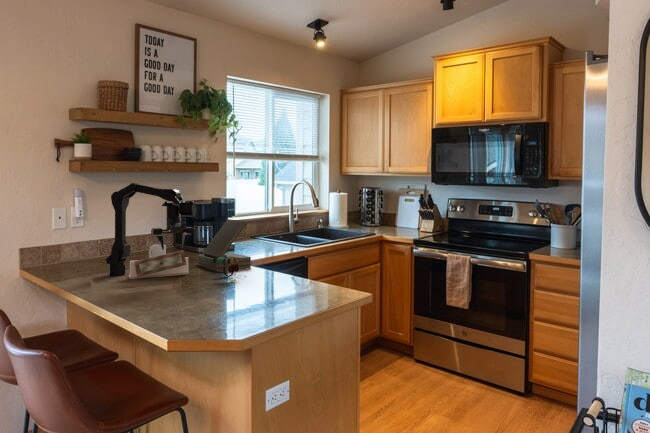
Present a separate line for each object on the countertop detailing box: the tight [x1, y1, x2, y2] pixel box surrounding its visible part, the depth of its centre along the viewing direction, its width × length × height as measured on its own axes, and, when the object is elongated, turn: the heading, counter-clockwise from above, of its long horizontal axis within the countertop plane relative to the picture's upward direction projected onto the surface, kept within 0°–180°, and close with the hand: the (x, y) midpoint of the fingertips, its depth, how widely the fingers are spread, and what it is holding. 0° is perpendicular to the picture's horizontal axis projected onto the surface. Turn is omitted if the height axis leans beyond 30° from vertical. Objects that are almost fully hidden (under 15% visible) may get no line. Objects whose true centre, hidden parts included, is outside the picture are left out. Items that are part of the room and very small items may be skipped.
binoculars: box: [213, 255, 240, 277], centre depth 224 cm, size 9×11×10 cm
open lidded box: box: [197, 218, 252, 273], centre depth 251 cm, size 23×20×25 cm
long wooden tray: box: [128, 256, 190, 280], centre depth 224 cm, size 26×6×8 cm, turn 121°
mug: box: [148, 243, 167, 258], centre depth 247 cm, size 10×7×12 cm, turn 66°
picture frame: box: [133, 249, 186, 277], centre depth 220 cm, size 22×2×7 cm, turn 121°
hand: (173, 249), depth 223 cm, fingers open, 9 cm apart
